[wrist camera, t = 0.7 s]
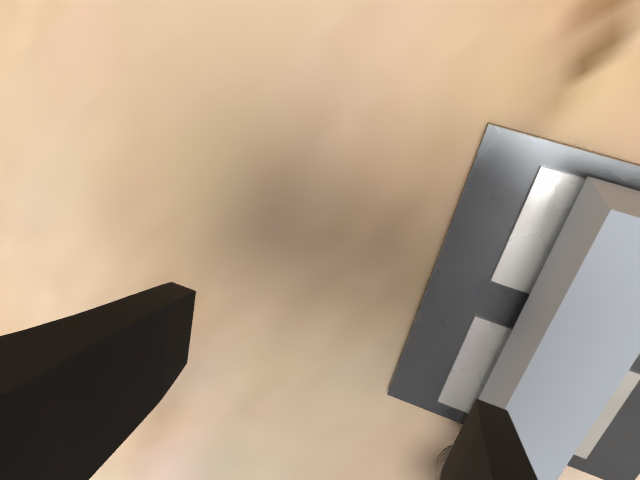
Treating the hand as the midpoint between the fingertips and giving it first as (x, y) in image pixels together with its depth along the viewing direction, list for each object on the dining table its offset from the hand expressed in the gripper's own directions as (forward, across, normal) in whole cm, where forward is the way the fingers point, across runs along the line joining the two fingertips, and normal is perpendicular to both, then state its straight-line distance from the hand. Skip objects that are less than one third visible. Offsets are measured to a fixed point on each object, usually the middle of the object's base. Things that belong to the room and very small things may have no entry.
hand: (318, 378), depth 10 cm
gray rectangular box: (+8, -6, +2) cm, 11 cm away
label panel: (+9, -7, +2) cm, 12 cm away
